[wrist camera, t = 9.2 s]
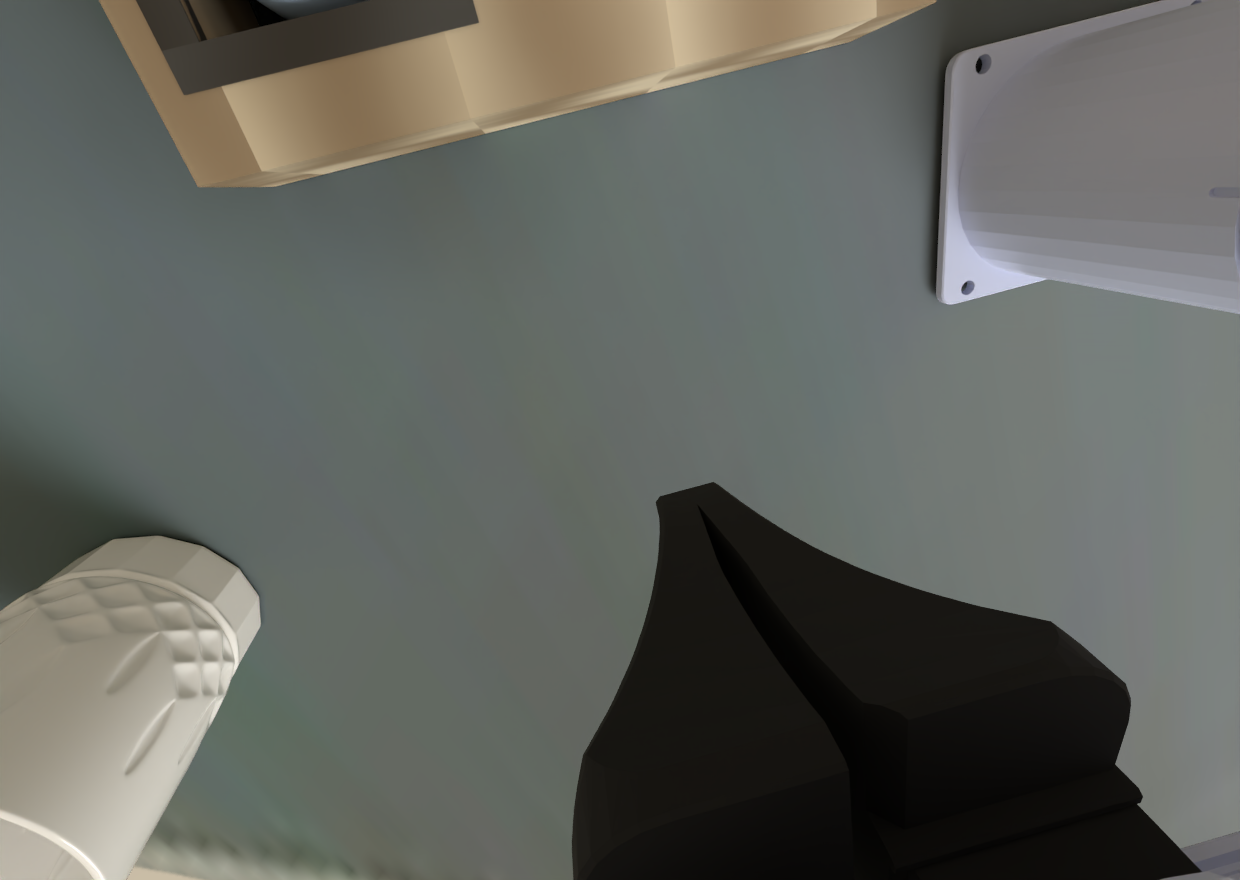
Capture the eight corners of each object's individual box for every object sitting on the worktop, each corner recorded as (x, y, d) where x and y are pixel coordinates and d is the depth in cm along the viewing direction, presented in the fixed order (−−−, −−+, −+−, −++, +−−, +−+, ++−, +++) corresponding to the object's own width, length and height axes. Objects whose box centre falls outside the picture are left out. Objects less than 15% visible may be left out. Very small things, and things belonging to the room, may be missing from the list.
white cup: (8, 605, 21) (-399, 926, 12) (132, 481, 19) (-221, 739, 10) (201, 699, 24) (0, 1007, 15) (320, 600, 22) (176, 873, 14)
